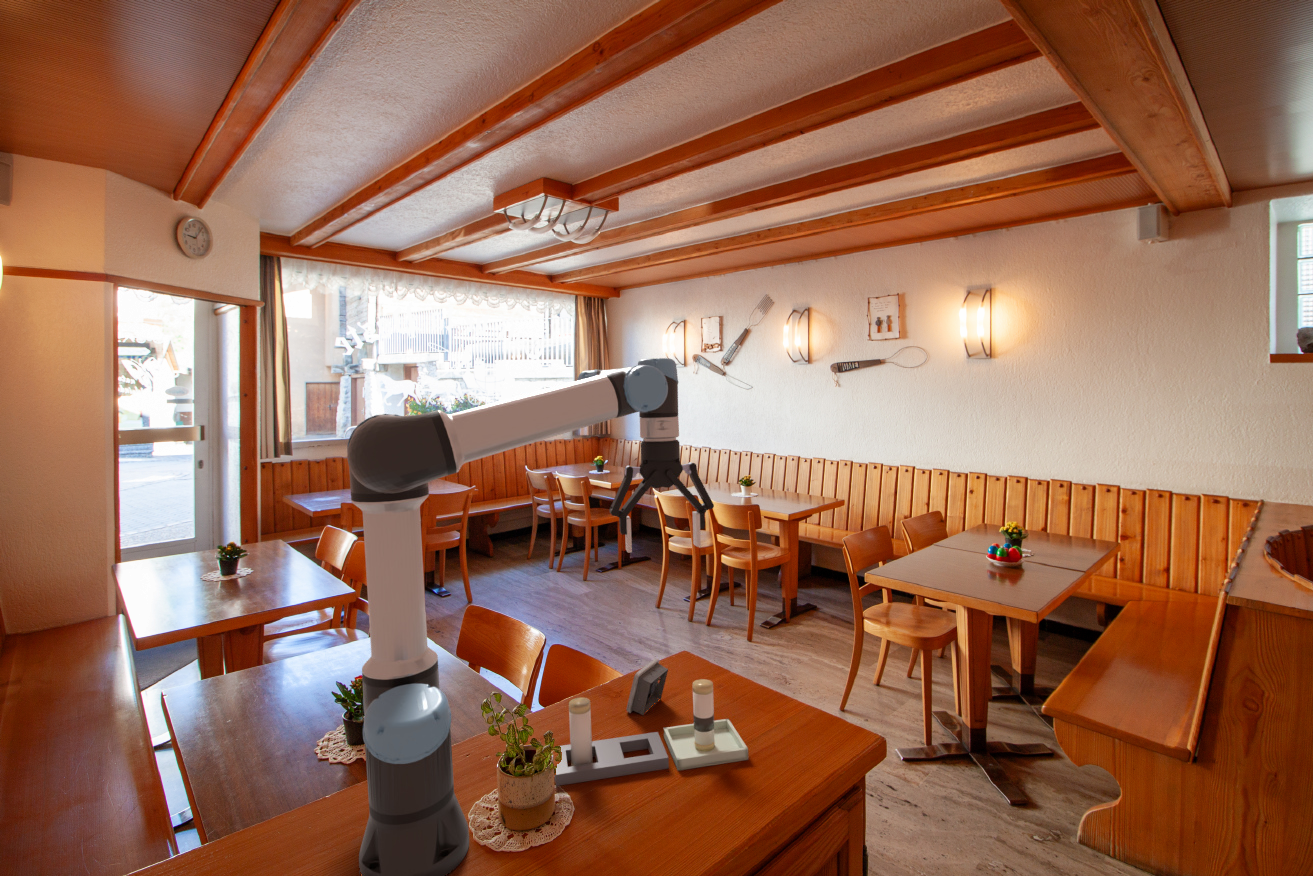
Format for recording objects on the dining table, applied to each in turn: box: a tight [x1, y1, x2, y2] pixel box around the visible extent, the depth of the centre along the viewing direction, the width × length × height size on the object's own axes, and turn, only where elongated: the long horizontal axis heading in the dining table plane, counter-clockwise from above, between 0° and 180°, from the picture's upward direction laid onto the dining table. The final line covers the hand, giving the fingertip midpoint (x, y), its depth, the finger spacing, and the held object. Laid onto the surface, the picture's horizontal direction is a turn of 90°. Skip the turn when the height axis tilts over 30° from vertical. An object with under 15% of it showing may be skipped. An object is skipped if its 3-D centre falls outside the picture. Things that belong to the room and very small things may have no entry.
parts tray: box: [663, 718, 749, 772], centre depth 120 cm, size 13×11×2 cm
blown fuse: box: [692, 678, 715, 751], centre depth 119 cm, size 4×4×12 cm
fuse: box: [568, 697, 594, 767], centre depth 115 cm, size 4×4×12 cm
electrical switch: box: [626, 657, 669, 716], centre depth 136 cm, size 9×5×9 cm, turn 151°
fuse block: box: [554, 731, 670, 787], centre depth 116 cm, size 20×9×2 cm, turn 102°
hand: (663, 548), depth 124 cm, fingers open, 13 cm apart
